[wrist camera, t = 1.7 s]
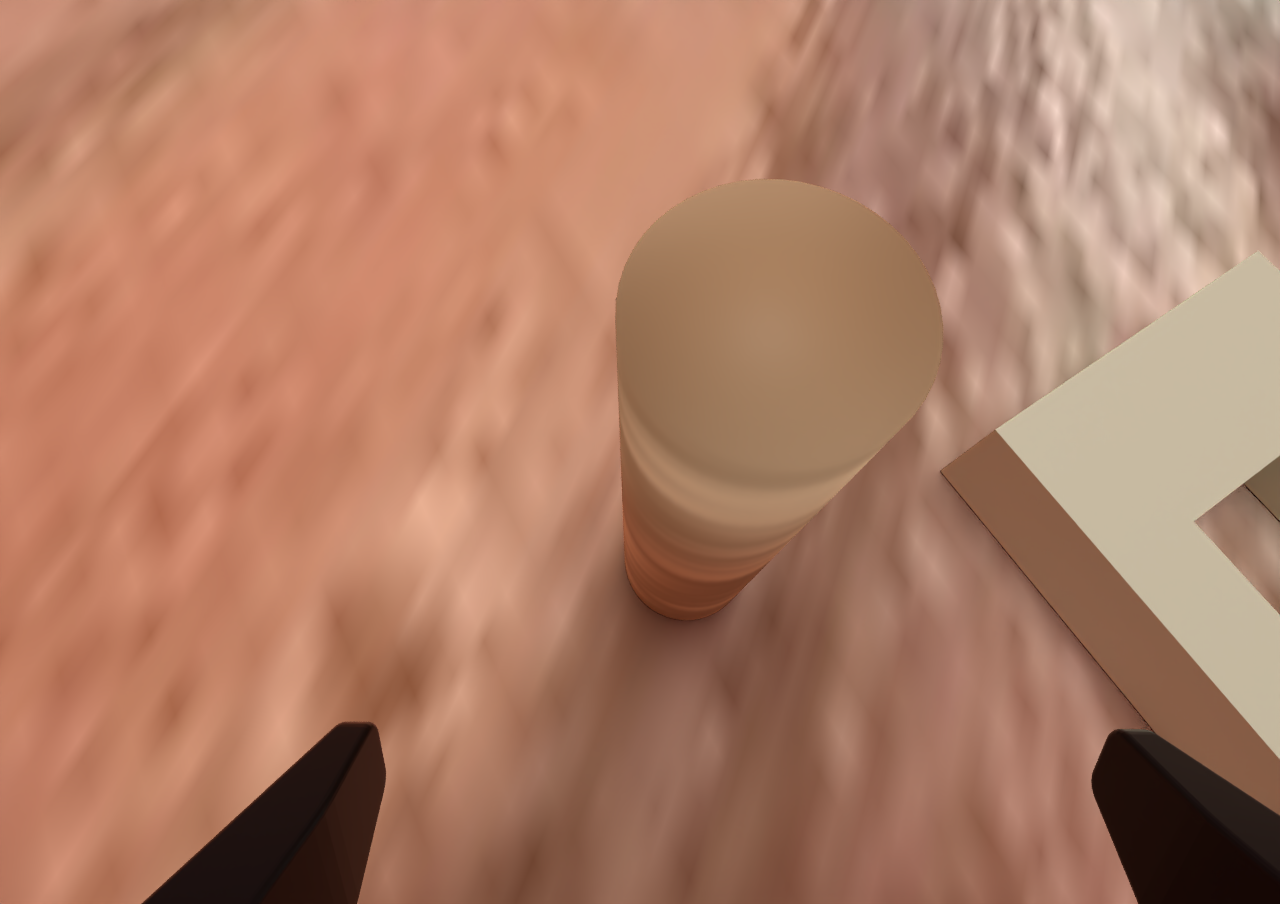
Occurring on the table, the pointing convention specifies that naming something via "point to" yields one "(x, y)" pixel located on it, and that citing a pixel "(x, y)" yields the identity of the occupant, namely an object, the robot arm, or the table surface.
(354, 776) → the robot arm
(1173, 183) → the table surface
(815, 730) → the table surface
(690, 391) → the peg
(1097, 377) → the socket block
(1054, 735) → the table surface
